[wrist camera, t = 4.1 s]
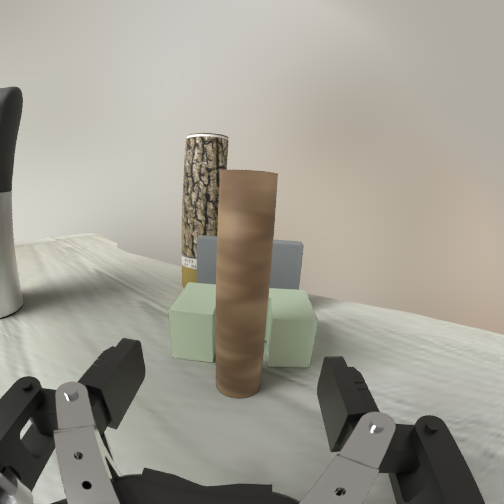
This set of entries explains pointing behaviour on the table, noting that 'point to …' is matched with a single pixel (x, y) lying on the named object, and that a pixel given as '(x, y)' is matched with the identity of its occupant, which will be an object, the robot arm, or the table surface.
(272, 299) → the cradle
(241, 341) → the brown banded cylinder
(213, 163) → the brown bark cylinder
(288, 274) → the wall
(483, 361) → the table surface
